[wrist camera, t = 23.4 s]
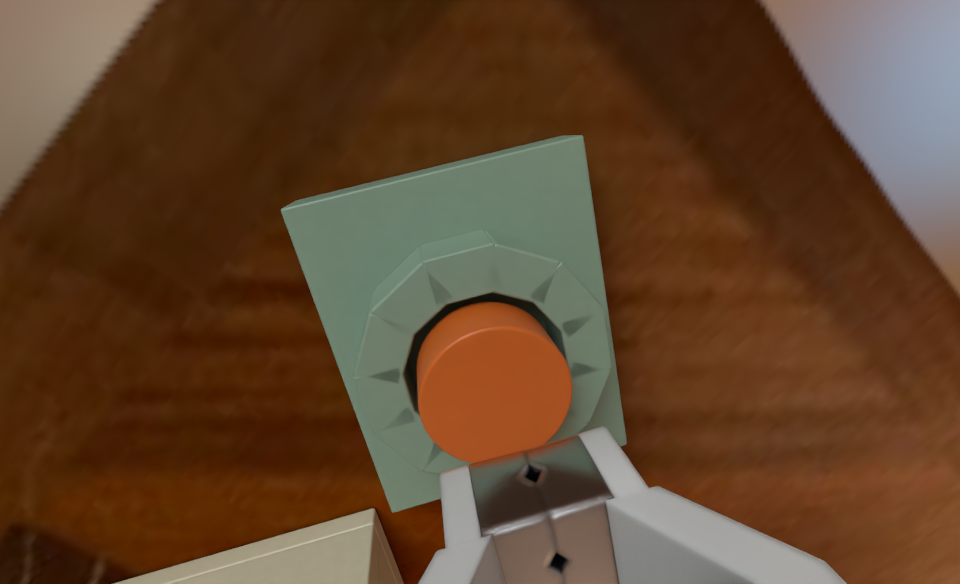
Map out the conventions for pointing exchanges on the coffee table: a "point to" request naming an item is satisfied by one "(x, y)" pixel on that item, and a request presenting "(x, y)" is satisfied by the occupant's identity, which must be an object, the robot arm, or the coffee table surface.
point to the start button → (491, 382)
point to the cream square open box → (296, 558)
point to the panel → (456, 287)
